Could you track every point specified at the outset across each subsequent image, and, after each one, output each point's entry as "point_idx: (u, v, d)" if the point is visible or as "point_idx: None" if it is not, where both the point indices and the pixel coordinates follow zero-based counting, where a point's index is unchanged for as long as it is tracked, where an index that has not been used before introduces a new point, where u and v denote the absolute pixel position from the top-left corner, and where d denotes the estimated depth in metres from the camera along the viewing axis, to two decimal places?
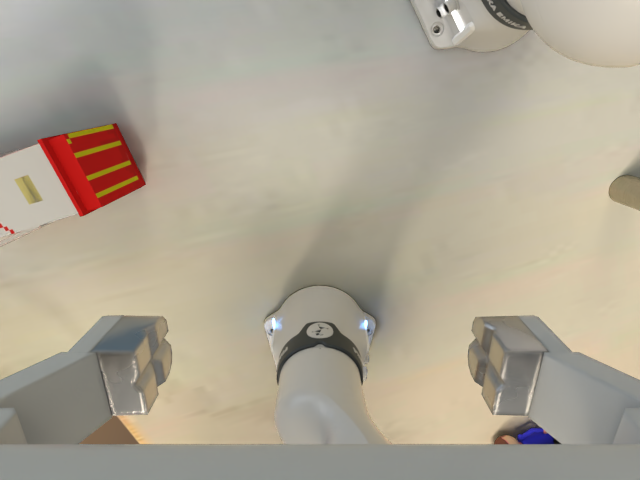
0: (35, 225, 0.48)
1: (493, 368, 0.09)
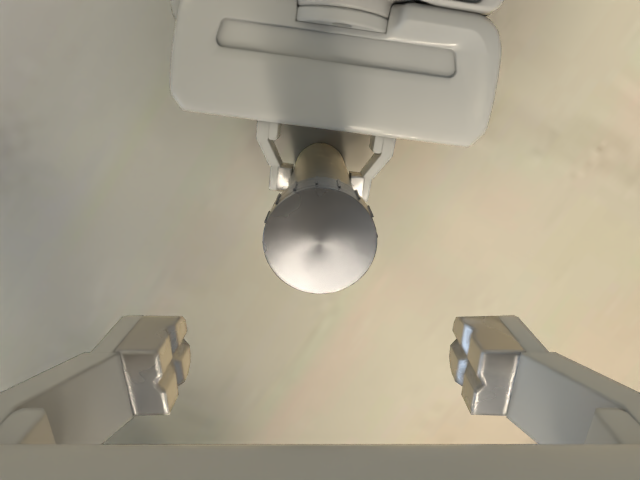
0: None
1: (472, 368, 0.09)
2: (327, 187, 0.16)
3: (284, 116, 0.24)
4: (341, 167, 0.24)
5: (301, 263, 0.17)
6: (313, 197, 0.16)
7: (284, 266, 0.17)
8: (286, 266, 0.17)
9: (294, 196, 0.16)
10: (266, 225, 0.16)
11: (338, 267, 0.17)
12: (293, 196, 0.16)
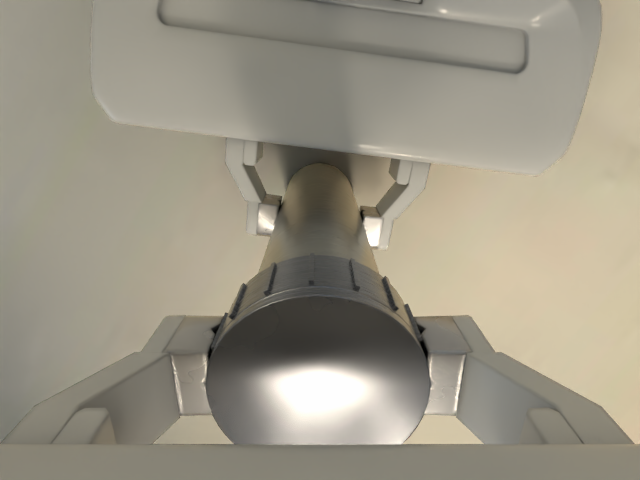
0: None
1: None
2: (333, 293, 0.08)
3: (265, 131, 0.16)
4: (351, 207, 0.16)
5: (282, 426, 0.09)
6: (304, 313, 0.08)
7: (249, 431, 0.09)
8: (253, 431, 0.09)
9: (265, 312, 0.08)
10: (211, 362, 0.08)
11: (353, 433, 0.09)
12: (263, 312, 0.08)
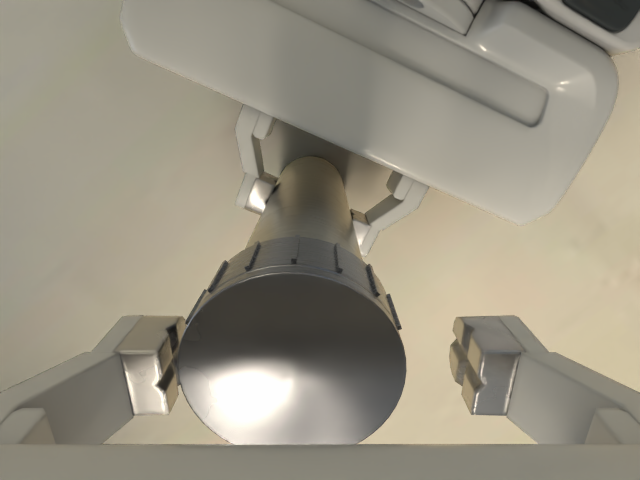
0: None
1: (472, 368, 0.09)
2: (191, 317, 0.08)
3: (284, 110, 0.16)
4: (346, 206, 0.17)
5: (313, 416, 0.09)
6: (198, 348, 0.08)
7: (304, 441, 0.09)
8: (306, 439, 0.09)
9: (183, 375, 0.08)
10: (217, 432, 0.09)
11: (356, 368, 0.08)
12: (182, 376, 0.08)
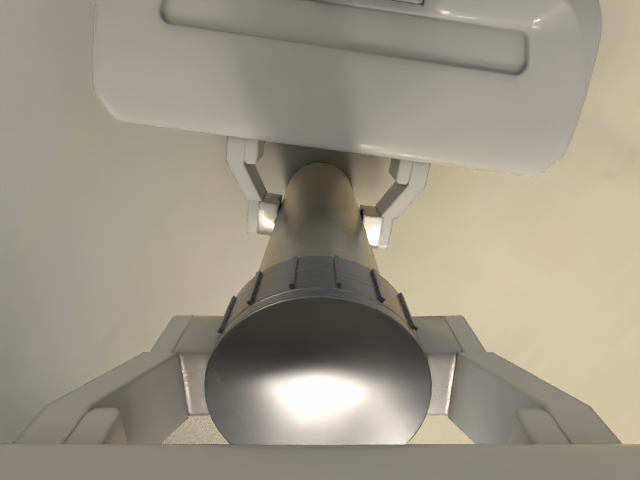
0: None
1: None
2: (208, 361, 0.08)
3: (266, 130, 0.16)
4: (351, 206, 0.16)
5: (349, 431, 0.09)
6: (222, 388, 0.08)
7: None
8: None
9: (215, 416, 0.09)
10: None
11: (378, 377, 0.08)
12: (214, 418, 0.09)
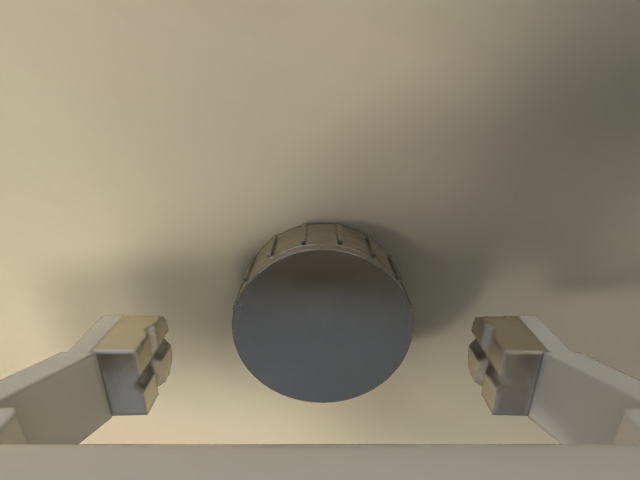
0: None
1: (493, 368, 0.09)
2: (236, 302, 0.10)
3: None
4: None
5: (347, 362, 0.11)
6: (246, 324, 0.10)
7: (345, 384, 0.11)
8: (346, 382, 0.11)
9: (239, 348, 0.11)
10: (276, 390, 0.11)
11: (370, 316, 0.10)
12: (239, 349, 0.11)
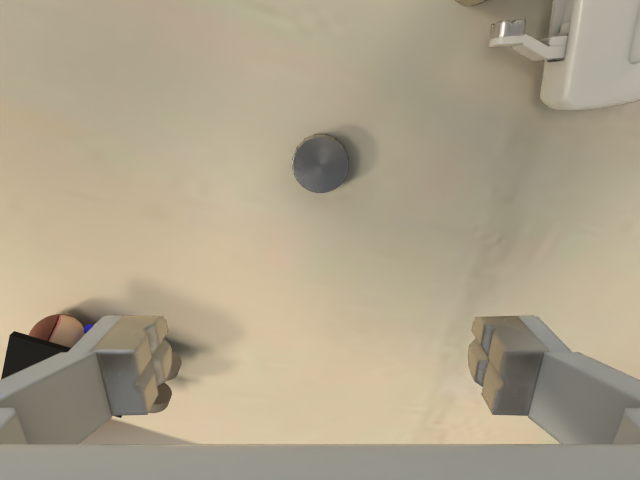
0: None
1: (493, 368, 0.09)
2: (294, 155, 0.34)
3: None
4: None
5: (328, 177, 0.34)
6: (297, 162, 0.34)
7: (328, 185, 0.34)
8: (328, 184, 0.34)
9: (294, 171, 0.34)
10: (305, 187, 0.35)
11: (335, 159, 0.34)
12: (294, 171, 0.34)
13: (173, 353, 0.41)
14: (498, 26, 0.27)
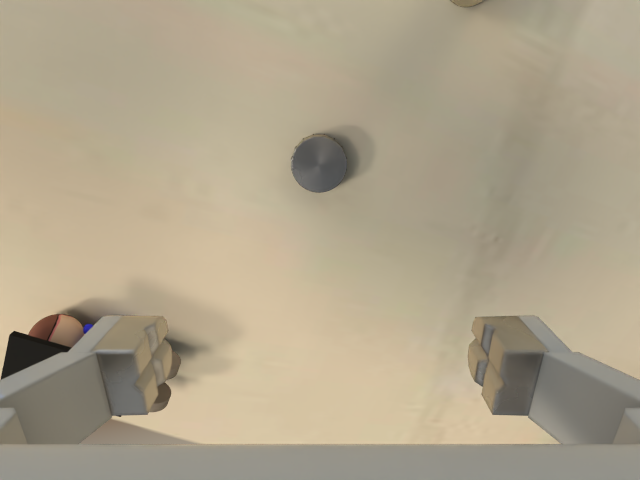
0: None
1: (493, 368, 0.09)
2: None
3: None
4: None
5: (326, 176, 0.34)
6: (295, 162, 0.34)
7: (326, 185, 0.35)
8: (326, 184, 0.35)
9: (293, 171, 0.34)
10: (304, 187, 0.35)
11: (333, 159, 0.34)
12: (293, 171, 0.34)
13: (172, 352, 0.41)
14: None
